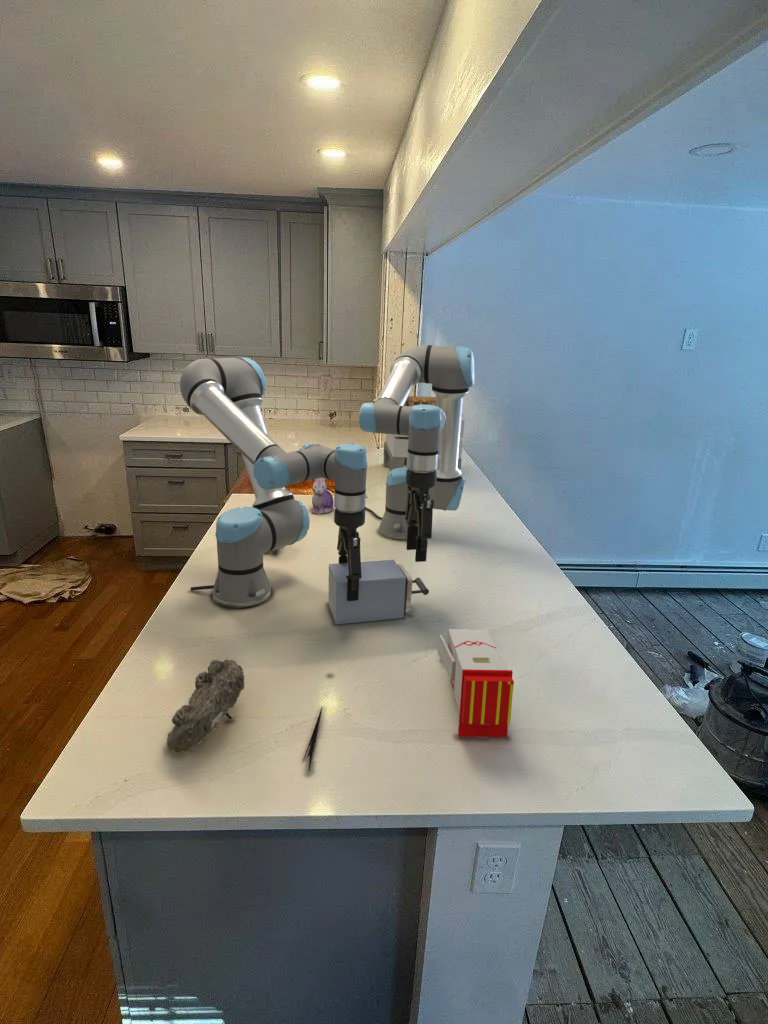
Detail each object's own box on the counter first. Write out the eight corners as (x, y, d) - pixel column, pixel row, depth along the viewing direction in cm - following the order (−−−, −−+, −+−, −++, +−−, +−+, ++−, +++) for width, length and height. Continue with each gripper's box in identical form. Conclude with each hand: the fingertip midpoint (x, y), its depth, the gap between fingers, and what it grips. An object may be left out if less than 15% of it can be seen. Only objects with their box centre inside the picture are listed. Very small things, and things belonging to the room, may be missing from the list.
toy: (488, 613, 130) (523, 677, 101) (484, 667, 133) (517, 744, 104) (435, 612, 130) (455, 676, 101) (432, 666, 133) (451, 743, 103)
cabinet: (391, 597, 156) (394, 559, 152) (403, 617, 146) (405, 577, 142) (328, 603, 151) (328, 564, 147) (335, 624, 141) (336, 583, 137)
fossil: (192, 660, 117) (244, 628, 112) (224, 691, 120) (276, 661, 115) (142, 746, 98) (202, 712, 93) (182, 779, 101) (242, 748, 96)
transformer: (382, 463, 289) (386, 382, 275) (445, 464, 293) (451, 384, 279) (390, 482, 257) (394, 392, 243) (460, 483, 261) (468, 394, 247)
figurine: (315, 516, 213) (315, 477, 208) (306, 507, 221) (306, 470, 216) (338, 512, 217) (339, 475, 212) (328, 504, 225) (329, 468, 220)
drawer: (418, 593, 157) (420, 561, 153) (429, 610, 148) (432, 577, 145) (340, 600, 151) (341, 567, 148) (348, 618, 142) (349, 584, 139)
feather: (331, 679, 122) (336, 673, 122) (307, 777, 96) (313, 769, 95) (324, 675, 122) (329, 669, 121) (298, 772, 95) (304, 764, 95)
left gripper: (376, 524, 128) (373, 610, 135) (354, 492, 149) (352, 568, 157) (344, 526, 126) (342, 613, 133) (326, 494, 147) (325, 570, 155)
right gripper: (450, 480, 131) (443, 570, 139) (423, 458, 149) (417, 539, 157) (419, 481, 129) (413, 572, 137) (395, 459, 147) (391, 541, 155)
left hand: (347, 589), depth 145 cm, fingers closed on cabinet, 11 cm apart
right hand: (415, 554), depth 147 cm, fingers open, 7 cm apart
